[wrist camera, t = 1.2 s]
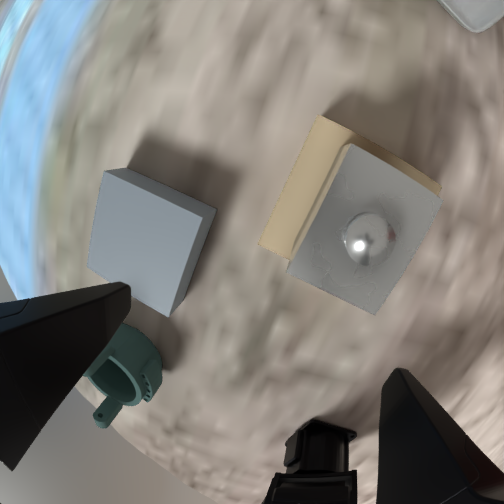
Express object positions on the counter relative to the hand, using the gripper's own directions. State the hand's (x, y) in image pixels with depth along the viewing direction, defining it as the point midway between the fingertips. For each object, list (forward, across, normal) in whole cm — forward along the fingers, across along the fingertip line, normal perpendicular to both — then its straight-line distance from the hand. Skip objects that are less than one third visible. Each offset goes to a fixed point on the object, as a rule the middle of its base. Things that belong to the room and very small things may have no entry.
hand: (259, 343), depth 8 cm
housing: (+10, -3, -3) cm, 11 cm away
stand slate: (+13, +11, +4) cm, 18 cm away
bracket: (+14, +13, +19) cm, 26 cm away
